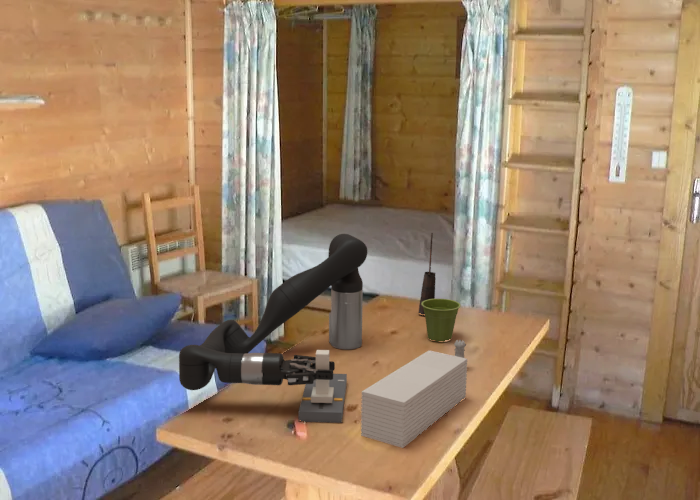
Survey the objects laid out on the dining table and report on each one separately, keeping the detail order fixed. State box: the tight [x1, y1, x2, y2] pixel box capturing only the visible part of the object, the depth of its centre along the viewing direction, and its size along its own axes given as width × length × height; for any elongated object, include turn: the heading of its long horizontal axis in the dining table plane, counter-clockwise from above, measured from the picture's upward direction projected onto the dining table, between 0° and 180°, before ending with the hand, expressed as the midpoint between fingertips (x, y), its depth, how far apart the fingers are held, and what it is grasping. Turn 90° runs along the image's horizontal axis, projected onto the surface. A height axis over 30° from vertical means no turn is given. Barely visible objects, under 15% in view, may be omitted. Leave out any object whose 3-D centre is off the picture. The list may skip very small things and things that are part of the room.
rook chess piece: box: [453, 339, 467, 358], centre depth 211 cm, size 4×4×8 cm
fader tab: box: [311, 349, 334, 403], centre depth 183 cm, size 6×5×12 cm
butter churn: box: [418, 232, 436, 314], centre depth 256 cm, size 9×10×28 cm
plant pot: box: [421, 298, 462, 342], centre depth 235 cm, size 12×12×11 cm
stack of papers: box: [360, 349, 468, 449], centre depth 181 cm, size 32×11×11 cm, turn 147°
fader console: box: [298, 373, 348, 424], centre depth 189 cm, size 24×10×3 cm, turn 178°
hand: (333, 370), depth 182 cm, fingers open, 5 cm apart
